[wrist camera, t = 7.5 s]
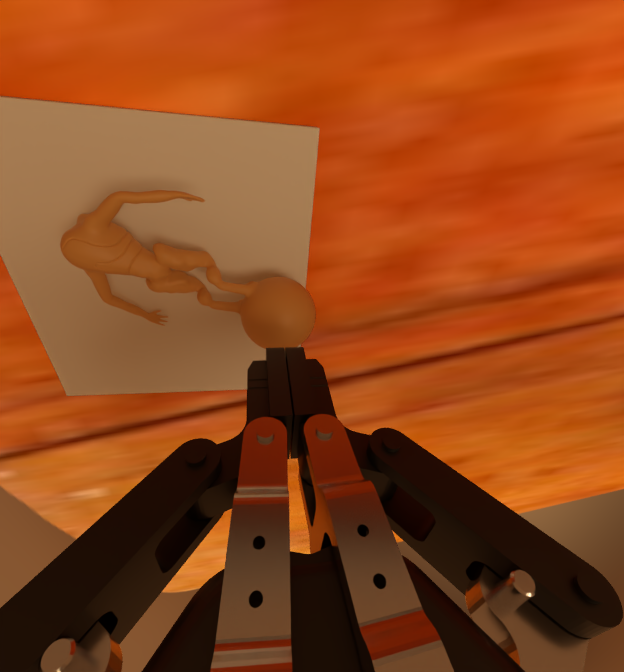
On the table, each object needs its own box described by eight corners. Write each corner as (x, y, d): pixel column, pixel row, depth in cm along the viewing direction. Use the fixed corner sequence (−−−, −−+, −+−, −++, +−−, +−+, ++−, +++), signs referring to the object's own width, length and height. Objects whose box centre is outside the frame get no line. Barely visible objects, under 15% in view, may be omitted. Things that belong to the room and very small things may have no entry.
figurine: (359, 262, 17) (146, 115, 15) (332, 332, 12) (25, 134, 11) (288, 353, 22) (126, 252, 21) (251, 425, 18) (41, 302, 16)
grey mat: (316, 127, 15) (319, 128, 15) (295, 379, 25) (296, 387, 24) (-62, 89, 13) (-79, 89, 12) (72, 387, 22) (67, 395, 21)
